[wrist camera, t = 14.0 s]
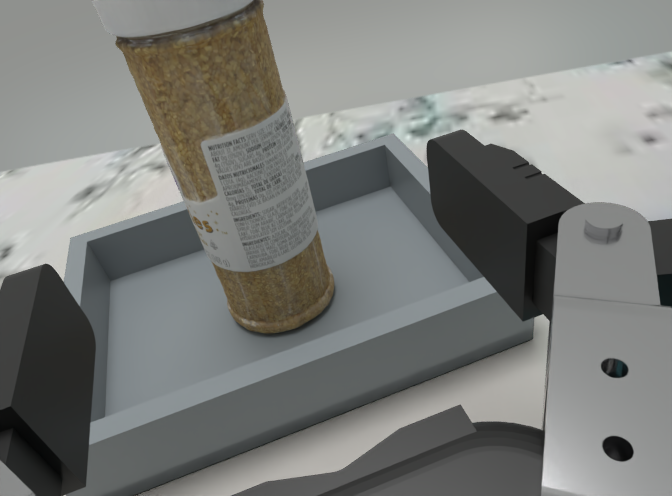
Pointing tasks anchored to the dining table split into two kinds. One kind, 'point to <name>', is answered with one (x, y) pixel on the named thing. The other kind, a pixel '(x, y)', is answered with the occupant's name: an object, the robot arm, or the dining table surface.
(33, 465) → the robot arm
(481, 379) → the dining table surface
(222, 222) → the sprinkles bottle
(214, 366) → the box
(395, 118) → the dining table surface
